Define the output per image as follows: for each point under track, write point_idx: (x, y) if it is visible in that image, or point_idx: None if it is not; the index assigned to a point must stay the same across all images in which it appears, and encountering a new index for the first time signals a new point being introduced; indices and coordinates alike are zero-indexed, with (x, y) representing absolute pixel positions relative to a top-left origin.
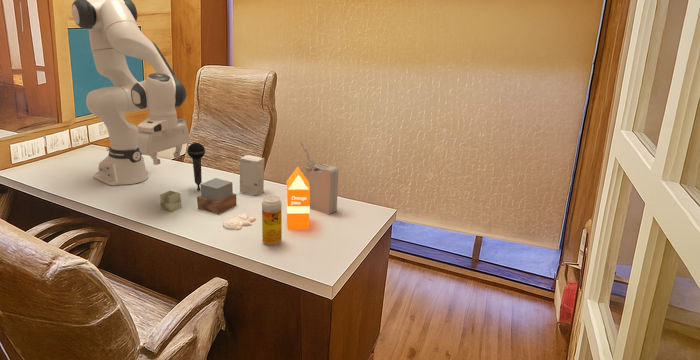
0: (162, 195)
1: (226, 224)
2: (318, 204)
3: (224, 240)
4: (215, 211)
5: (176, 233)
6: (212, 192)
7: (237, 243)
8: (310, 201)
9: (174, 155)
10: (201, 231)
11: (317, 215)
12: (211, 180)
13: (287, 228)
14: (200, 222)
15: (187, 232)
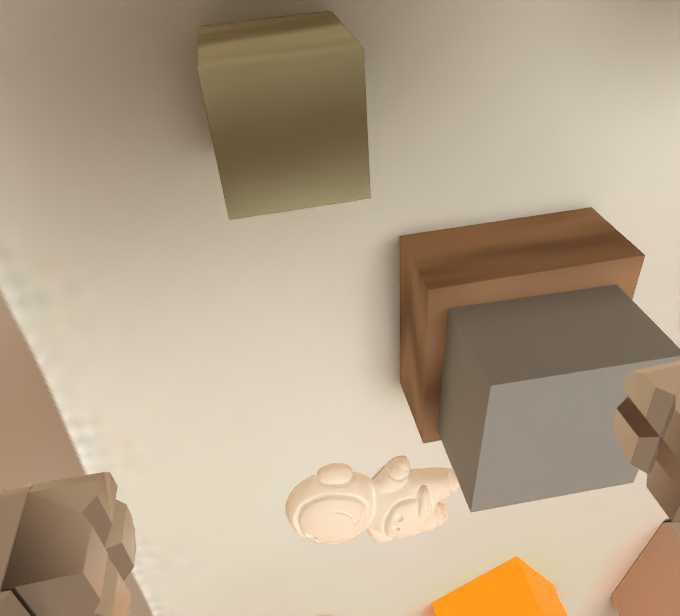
0: (207, 117)
1: (299, 518)
2: (648, 597)
3: (201, 564)
4: (404, 373)
5: (62, 417)
6: (460, 443)
7: (221, 597)
8: (667, 573)
9: (665, 404)
10: (185, 467)
11: (591, 584)
12: (613, 376)
13: (433, 607)
14: (256, 394)
15: (120, 440)
